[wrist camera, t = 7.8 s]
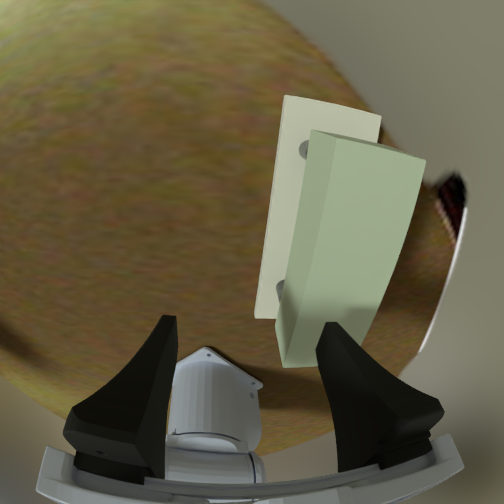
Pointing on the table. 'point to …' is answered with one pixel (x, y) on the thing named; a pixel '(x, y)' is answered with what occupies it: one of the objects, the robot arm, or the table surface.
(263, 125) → the table surface
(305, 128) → the peg stand
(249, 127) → the table surface
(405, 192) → the pale green block
